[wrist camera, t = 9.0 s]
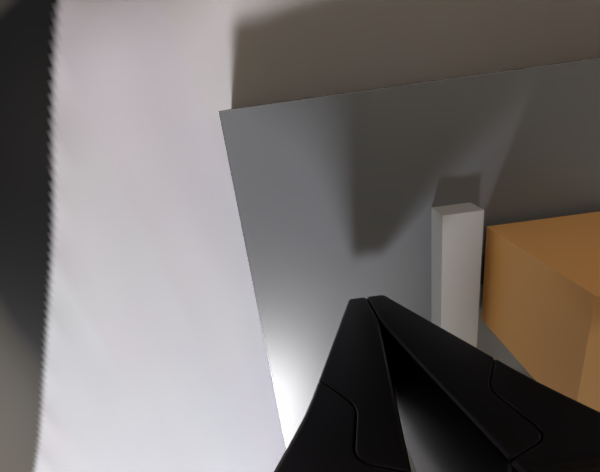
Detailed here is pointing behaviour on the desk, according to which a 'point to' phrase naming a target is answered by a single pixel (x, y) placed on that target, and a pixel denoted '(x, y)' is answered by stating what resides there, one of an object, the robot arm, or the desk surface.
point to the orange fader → (548, 300)
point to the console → (401, 201)
